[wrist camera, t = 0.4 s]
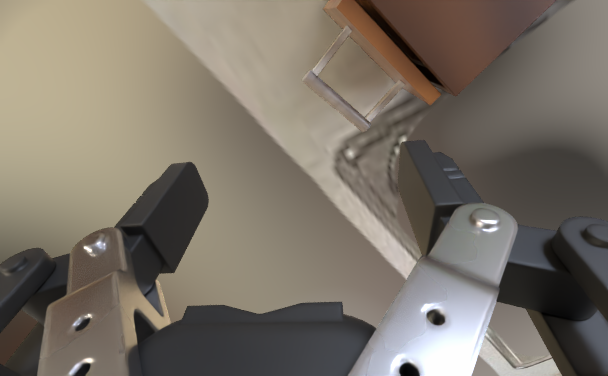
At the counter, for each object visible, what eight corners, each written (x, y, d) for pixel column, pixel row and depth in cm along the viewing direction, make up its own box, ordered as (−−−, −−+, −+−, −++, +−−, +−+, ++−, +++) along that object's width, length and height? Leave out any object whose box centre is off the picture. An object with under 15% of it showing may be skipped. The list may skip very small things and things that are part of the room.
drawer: (362, 125, 33) (382, 153, 27) (286, 60, 29) (287, 74, 22) (508, -33, 26) (586, -49, 19) (436, -152, 21) (505, -225, 15)
